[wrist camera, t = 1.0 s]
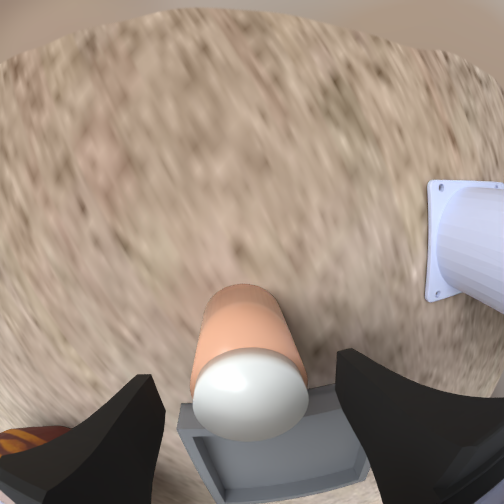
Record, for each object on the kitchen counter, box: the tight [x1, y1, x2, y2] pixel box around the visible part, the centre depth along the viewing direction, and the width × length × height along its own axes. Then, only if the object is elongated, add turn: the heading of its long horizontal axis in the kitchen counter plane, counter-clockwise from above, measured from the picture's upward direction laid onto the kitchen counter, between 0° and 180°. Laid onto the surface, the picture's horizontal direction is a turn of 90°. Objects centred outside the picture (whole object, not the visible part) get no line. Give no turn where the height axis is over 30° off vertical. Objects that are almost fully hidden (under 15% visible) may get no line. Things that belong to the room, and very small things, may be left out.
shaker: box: [190, 284, 309, 442], centre depth 12 cm, size 4×4×7 cm
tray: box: [177, 384, 371, 504], centre depth 17 cm, size 14×13×2 cm
